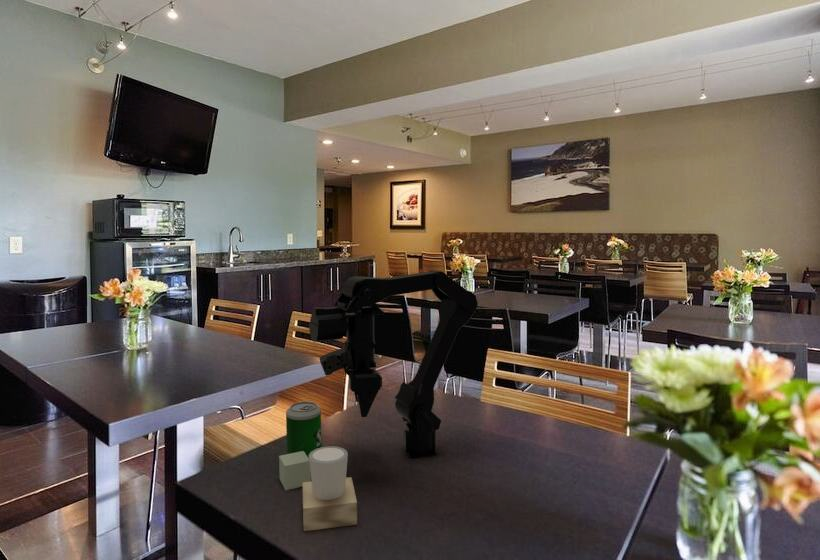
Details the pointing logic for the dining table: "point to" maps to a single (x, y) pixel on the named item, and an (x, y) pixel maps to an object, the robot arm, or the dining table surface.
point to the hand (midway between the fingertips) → (361, 409)
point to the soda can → (303, 427)
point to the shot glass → (328, 472)
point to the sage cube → (294, 470)
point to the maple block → (329, 508)
